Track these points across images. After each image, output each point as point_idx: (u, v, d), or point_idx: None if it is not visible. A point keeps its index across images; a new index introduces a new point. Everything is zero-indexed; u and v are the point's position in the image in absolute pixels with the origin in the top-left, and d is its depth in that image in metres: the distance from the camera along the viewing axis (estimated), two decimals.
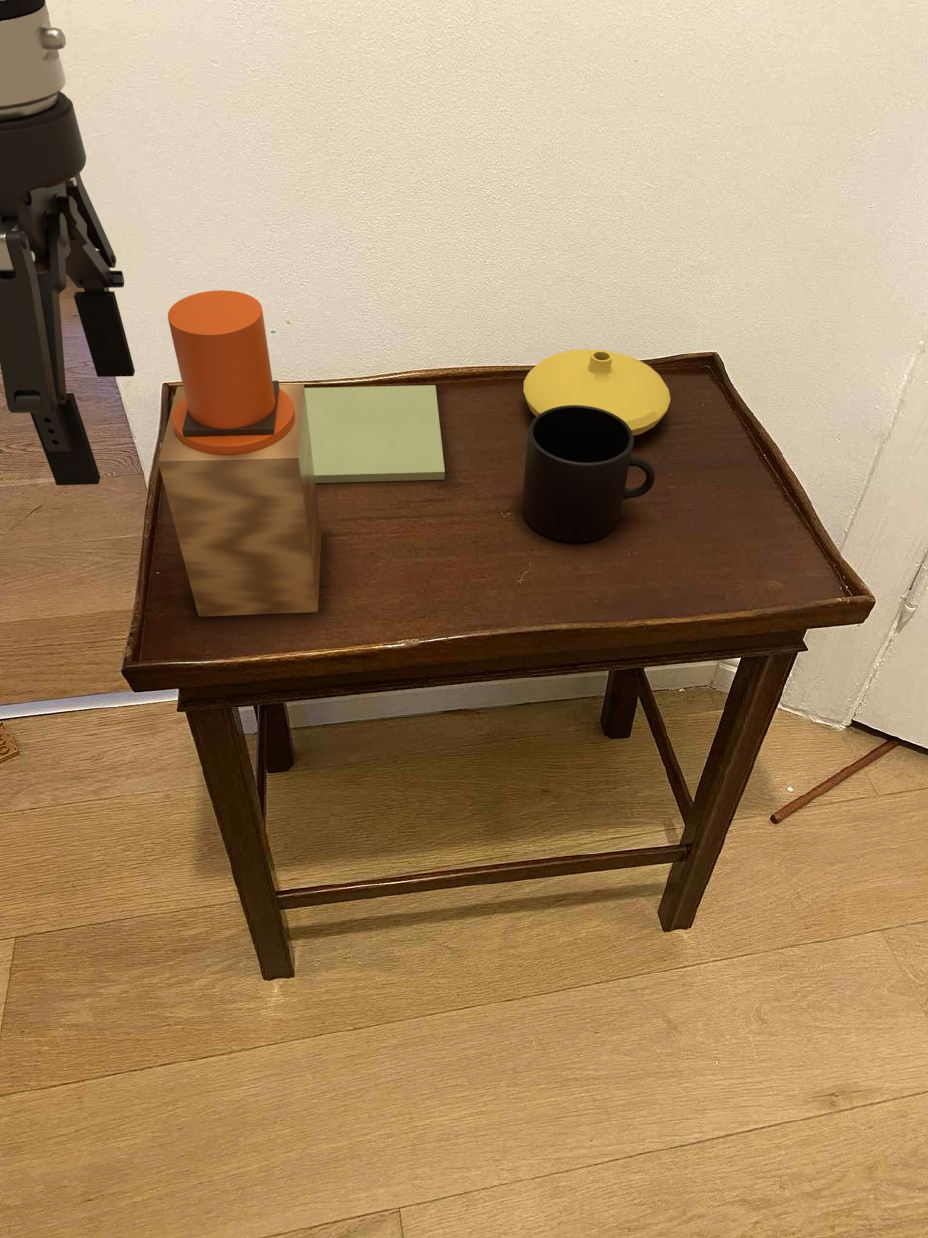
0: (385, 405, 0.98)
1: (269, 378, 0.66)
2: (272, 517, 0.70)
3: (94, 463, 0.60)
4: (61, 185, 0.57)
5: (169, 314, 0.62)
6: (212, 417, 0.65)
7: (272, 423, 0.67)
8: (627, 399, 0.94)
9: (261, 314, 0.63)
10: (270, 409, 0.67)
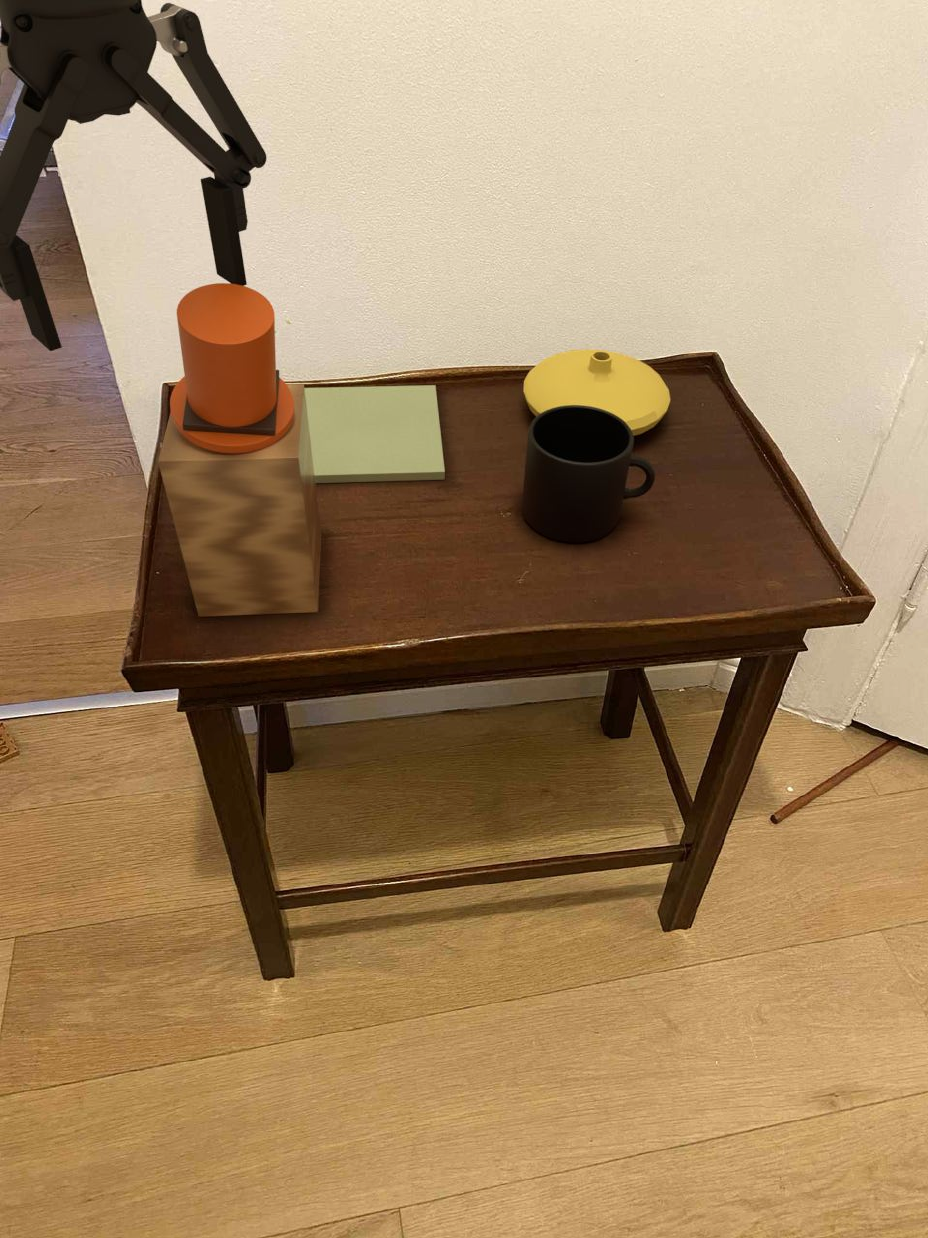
0: (385, 405, 0.98)
1: (274, 378, 0.65)
2: (272, 517, 0.70)
3: (52, 329, 0.56)
4: (138, 39, 0.51)
5: (178, 311, 0.61)
6: (214, 415, 0.65)
7: (274, 424, 0.66)
8: (627, 399, 0.94)
9: (273, 320, 0.62)
10: (272, 407, 0.67)
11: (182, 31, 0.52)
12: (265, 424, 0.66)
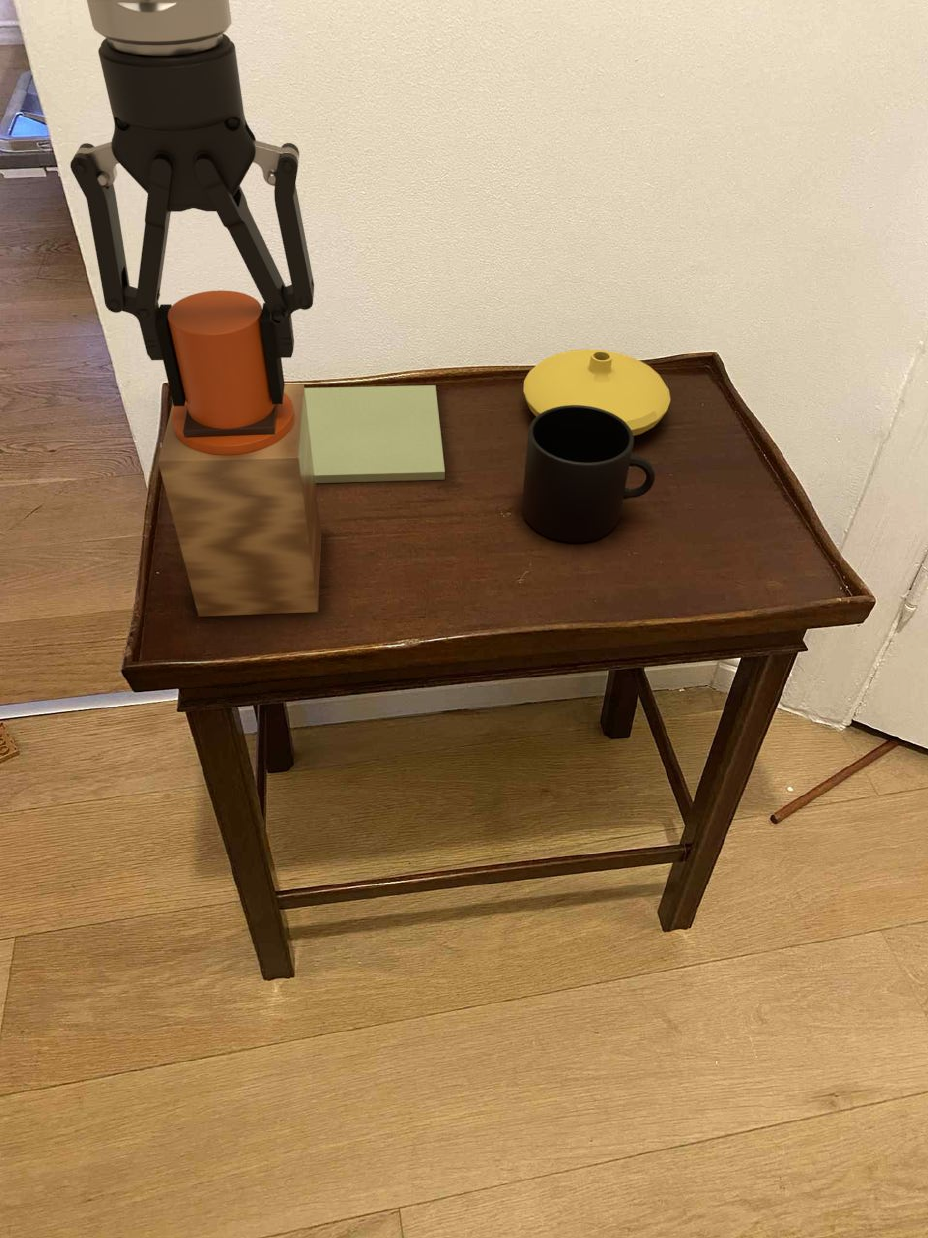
0: (385, 405, 0.98)
1: None
2: (272, 517, 0.70)
3: (177, 390, 0.66)
4: (232, 152, 0.55)
5: (169, 315, 0.62)
6: (212, 417, 0.65)
7: (273, 423, 0.67)
8: (627, 399, 0.94)
9: (261, 314, 0.63)
10: (270, 409, 0.67)
11: (277, 168, 0.56)
12: (264, 423, 0.67)
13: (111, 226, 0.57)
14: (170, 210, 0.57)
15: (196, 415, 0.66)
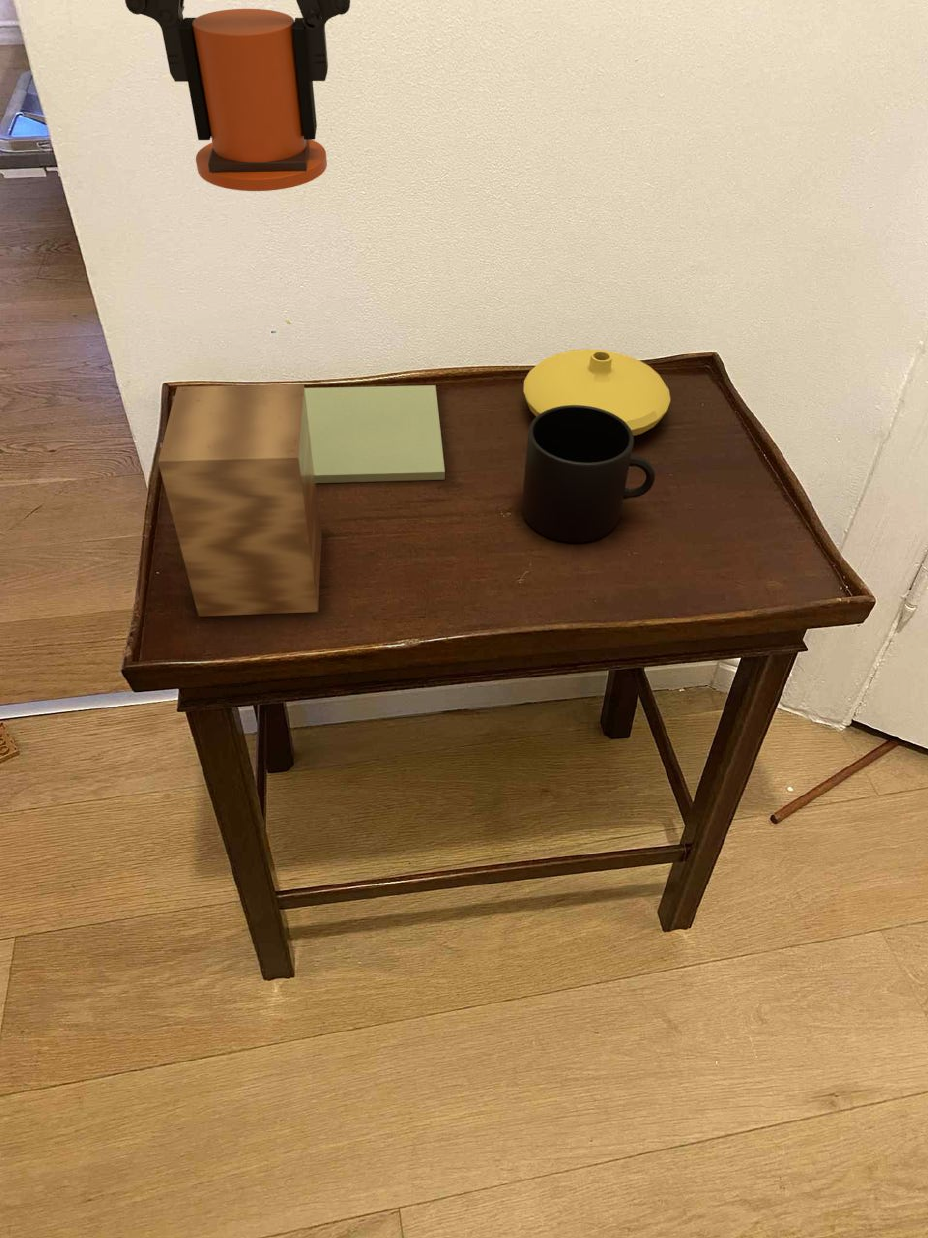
0: (385, 405, 0.98)
1: None
2: (272, 517, 0.70)
3: (202, 118, 0.61)
4: None
5: (194, 22, 0.58)
6: (240, 147, 0.61)
7: (304, 158, 0.62)
8: (627, 399, 0.94)
9: (293, 24, 0.58)
10: (302, 147, 0.63)
11: None
12: (295, 159, 0.62)
13: None
14: None
15: (222, 148, 0.61)
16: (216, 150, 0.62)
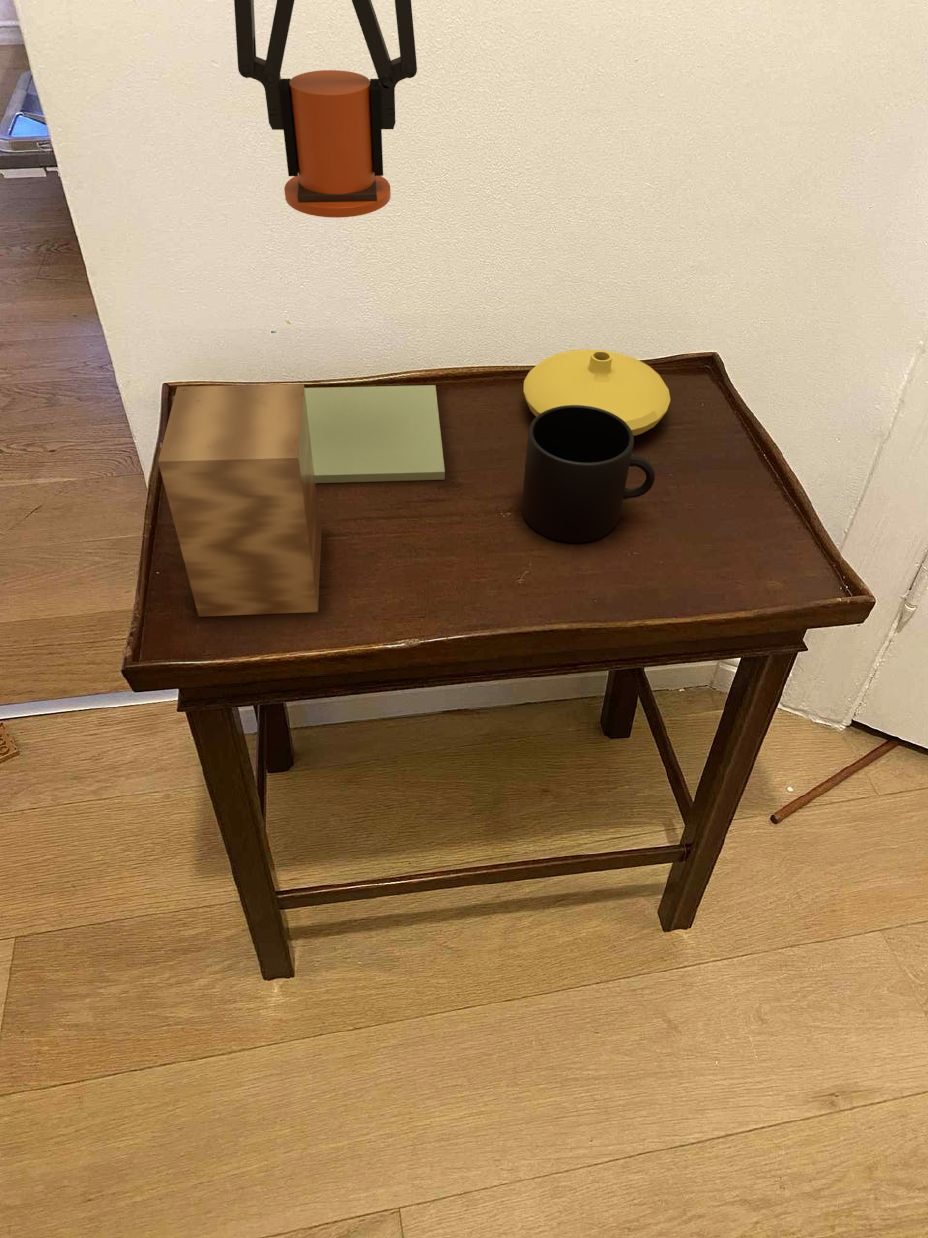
0: (385, 405, 0.98)
1: (372, 150, 0.75)
2: (272, 517, 0.70)
3: (293, 159, 0.75)
4: None
5: (290, 83, 0.72)
6: (324, 182, 0.75)
7: (375, 191, 0.76)
8: (627, 399, 0.94)
9: (370, 84, 0.72)
10: (372, 181, 0.77)
11: None
12: (368, 191, 0.76)
13: None
14: None
15: (309, 182, 0.75)
16: (303, 184, 0.76)
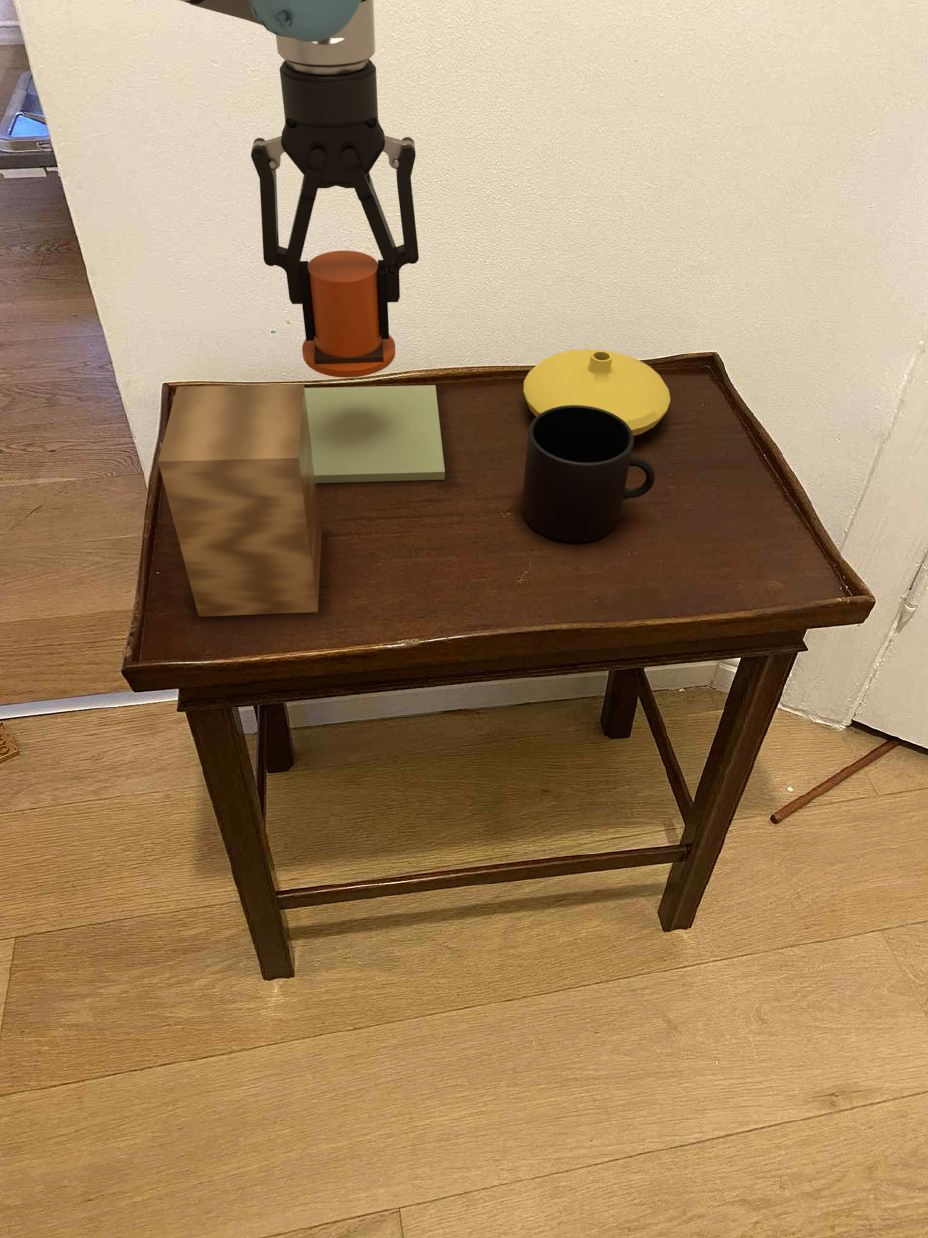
0: (385, 405, 0.98)
1: None
2: (272, 517, 0.70)
3: (310, 327, 0.85)
4: (368, 143, 0.75)
5: (308, 268, 0.82)
6: (337, 348, 0.85)
7: (382, 353, 0.86)
8: (627, 399, 0.94)
9: (377, 267, 0.83)
10: (379, 343, 0.87)
11: (400, 156, 0.75)
12: (375, 353, 0.86)
13: (275, 199, 0.77)
14: (319, 187, 0.77)
15: (324, 347, 0.86)
16: (318, 347, 0.87)
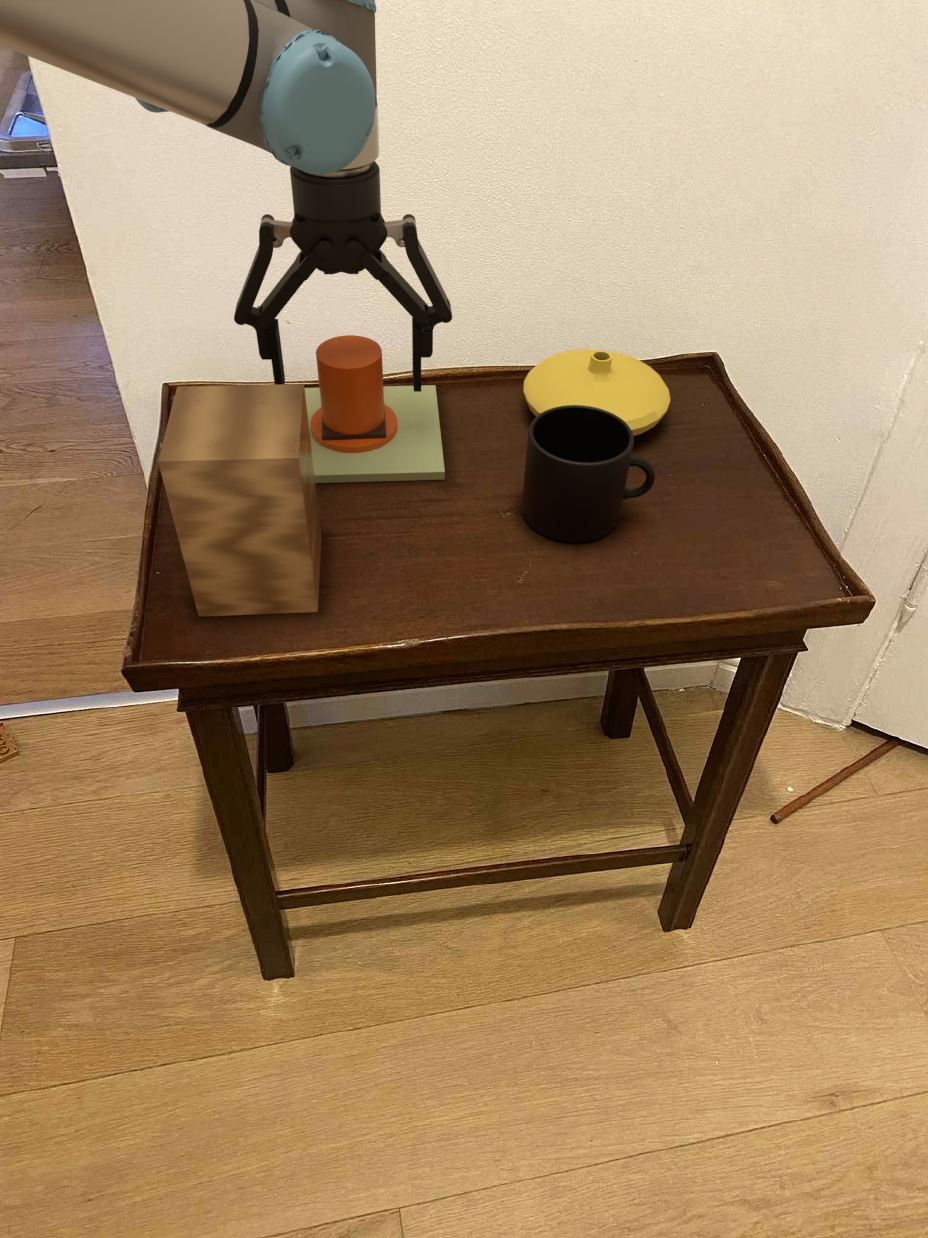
0: None
1: (383, 397, 0.92)
2: (272, 517, 0.70)
3: (279, 381, 0.89)
4: (372, 235, 0.80)
5: (317, 354, 0.88)
6: (343, 426, 0.91)
7: (385, 429, 0.93)
8: (627, 399, 0.94)
9: (381, 353, 0.89)
10: (382, 419, 0.93)
11: (403, 235, 0.80)
12: (379, 430, 0.92)
13: (265, 272, 0.81)
14: None
15: (331, 424, 0.92)
16: (326, 424, 0.93)
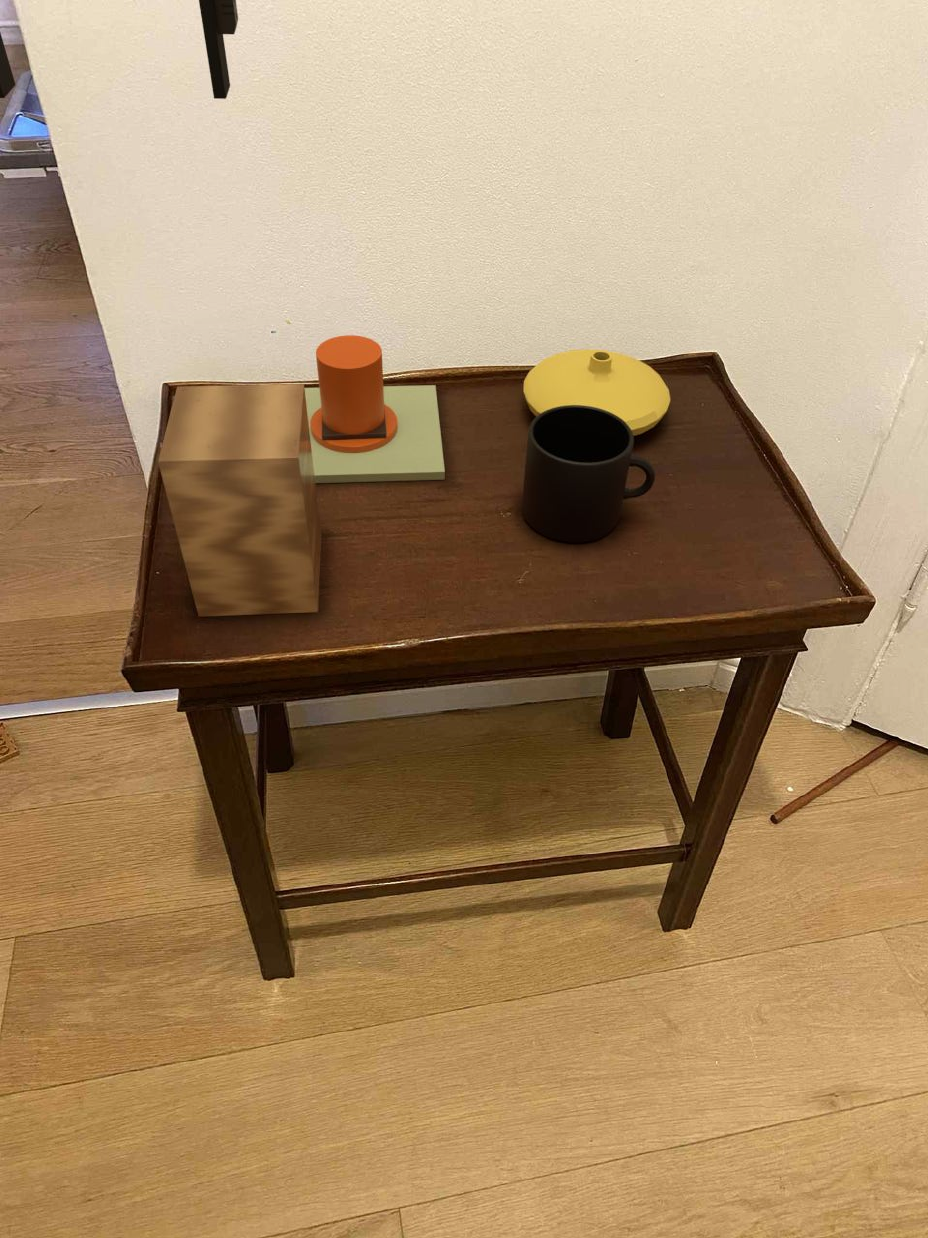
0: None
1: (383, 397, 0.92)
2: (272, 517, 0.70)
3: None
4: None
5: (317, 354, 0.88)
6: (343, 426, 0.91)
7: (385, 429, 0.93)
8: (627, 399, 0.94)
9: (381, 353, 0.89)
10: (382, 419, 0.93)
11: None
12: (379, 430, 0.92)
13: None
14: None
15: (331, 424, 0.92)
16: (326, 424, 0.93)
